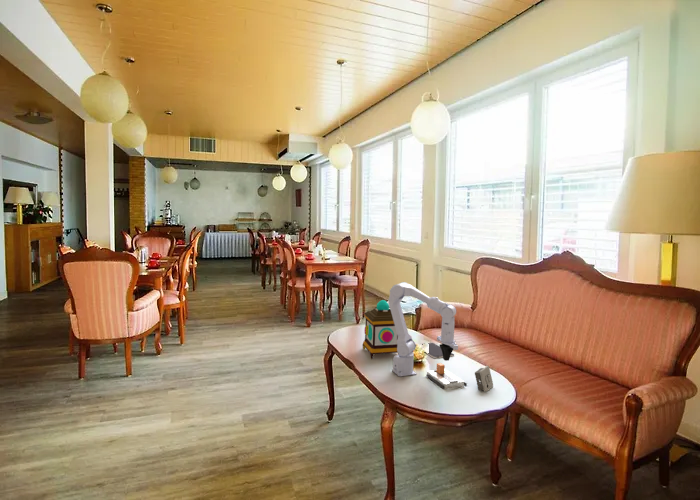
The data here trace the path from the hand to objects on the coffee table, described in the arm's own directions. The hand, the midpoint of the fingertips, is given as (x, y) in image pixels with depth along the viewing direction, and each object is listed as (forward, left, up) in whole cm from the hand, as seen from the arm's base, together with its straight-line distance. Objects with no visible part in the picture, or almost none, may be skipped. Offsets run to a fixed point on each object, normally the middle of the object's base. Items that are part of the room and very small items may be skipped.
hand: (446, 360), depth 190 cm
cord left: (-5, 0, -10) cm, 12 cm away
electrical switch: (+13, -11, -11) cm, 20 cm away
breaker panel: (0, 0, -10) cm, 10 cm away
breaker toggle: (0, +4, -8) cm, 9 cm away
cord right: (+7, 0, -10) cm, 12 cm away
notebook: (+17, +39, -11) cm, 44 cm away
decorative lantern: (-13, +44, -11) cm, 47 cm away
